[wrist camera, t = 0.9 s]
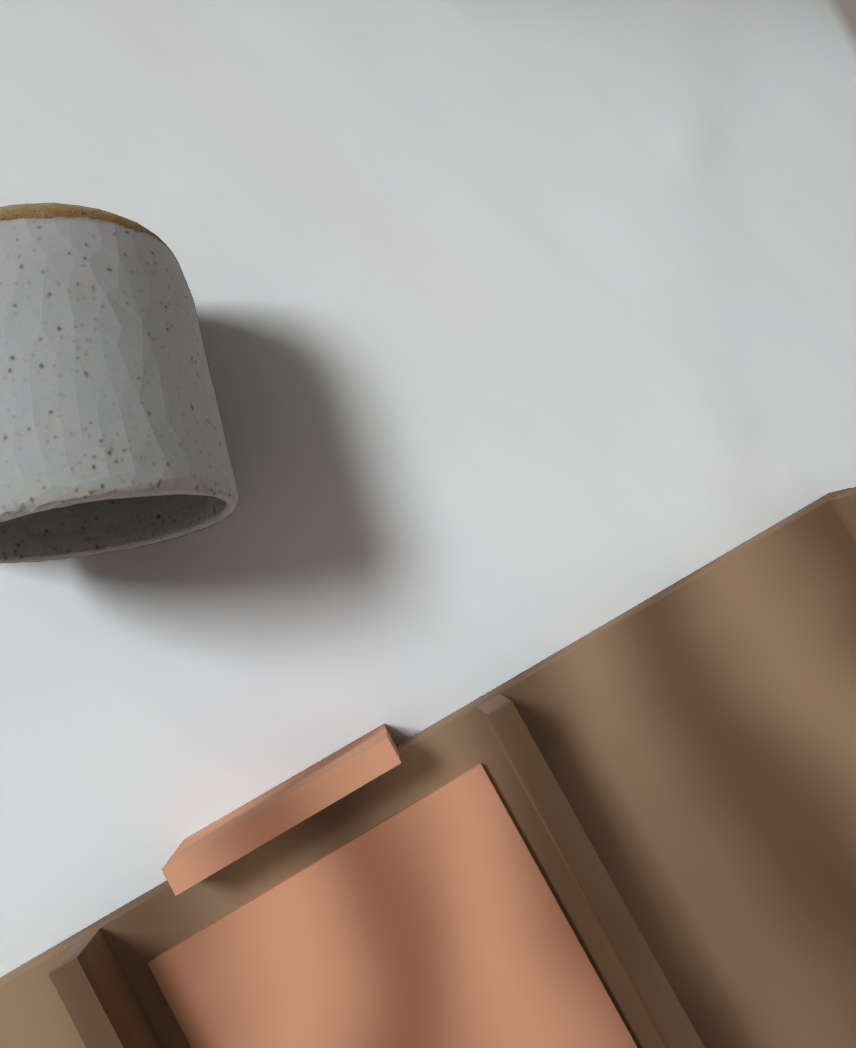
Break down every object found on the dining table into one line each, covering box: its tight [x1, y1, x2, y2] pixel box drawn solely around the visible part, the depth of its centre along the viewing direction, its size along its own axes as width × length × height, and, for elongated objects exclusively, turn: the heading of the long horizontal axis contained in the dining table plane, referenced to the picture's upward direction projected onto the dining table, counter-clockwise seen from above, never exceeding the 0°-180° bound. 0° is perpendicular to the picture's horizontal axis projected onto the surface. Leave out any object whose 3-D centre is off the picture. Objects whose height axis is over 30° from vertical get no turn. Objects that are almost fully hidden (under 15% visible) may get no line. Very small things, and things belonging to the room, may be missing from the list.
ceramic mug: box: [0, 203, 238, 563], centre depth 22 cm, size 11×8×8 cm
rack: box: [0, 487, 856, 1048], centre depth 23 cm, size 41×16×3 cm, turn 119°
